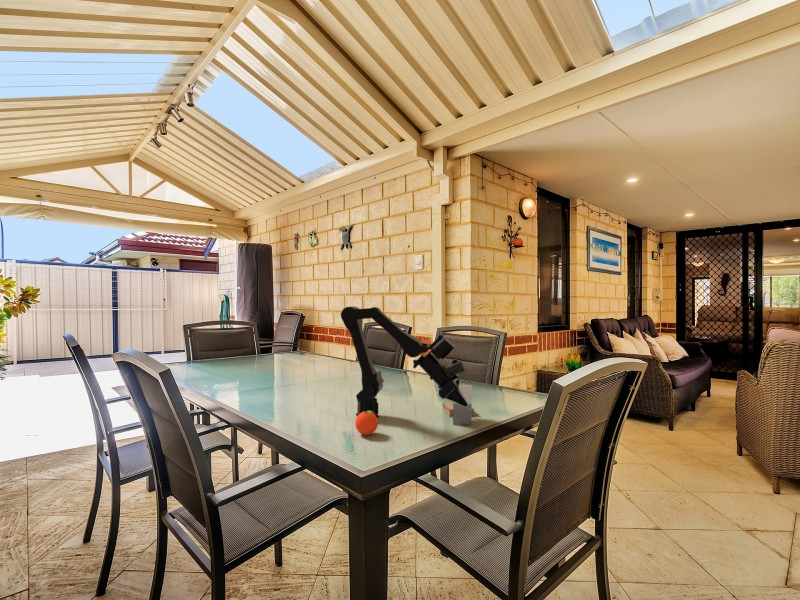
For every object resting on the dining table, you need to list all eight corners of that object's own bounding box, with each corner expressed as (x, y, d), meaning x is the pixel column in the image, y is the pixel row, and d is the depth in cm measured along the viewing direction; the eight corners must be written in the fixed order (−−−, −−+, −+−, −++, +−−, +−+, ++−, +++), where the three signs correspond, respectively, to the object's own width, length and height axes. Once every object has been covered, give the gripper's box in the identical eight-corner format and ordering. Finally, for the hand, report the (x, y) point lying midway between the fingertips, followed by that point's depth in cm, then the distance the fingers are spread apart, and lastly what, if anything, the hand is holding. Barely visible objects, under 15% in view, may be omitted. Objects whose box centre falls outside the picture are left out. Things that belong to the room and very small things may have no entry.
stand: (449, 416, 138) (449, 409, 138) (442, 409, 147) (442, 402, 147) (473, 415, 139) (473, 408, 139) (465, 408, 148) (465, 402, 148)
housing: (452, 424, 129) (453, 388, 129) (453, 419, 135) (454, 384, 135) (471, 425, 128) (471, 389, 128) (471, 420, 134) (471, 385, 134)
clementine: (365, 428, 125) (366, 406, 125) (384, 432, 121) (384, 409, 121) (350, 435, 118) (350, 412, 118) (369, 440, 114) (369, 415, 114)
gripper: (449, 356, 123) (485, 393, 121) (452, 349, 141) (483, 381, 139) (424, 380, 124) (459, 417, 122) (430, 370, 143) (460, 402, 141)
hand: (466, 402), depth 131 cm, fingers closed on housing, 6 cm apart
